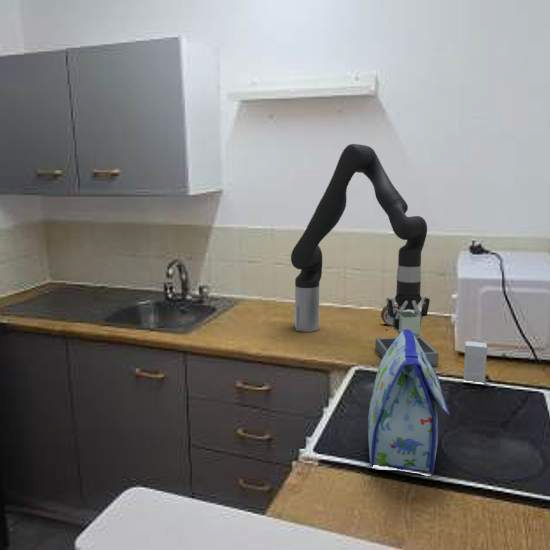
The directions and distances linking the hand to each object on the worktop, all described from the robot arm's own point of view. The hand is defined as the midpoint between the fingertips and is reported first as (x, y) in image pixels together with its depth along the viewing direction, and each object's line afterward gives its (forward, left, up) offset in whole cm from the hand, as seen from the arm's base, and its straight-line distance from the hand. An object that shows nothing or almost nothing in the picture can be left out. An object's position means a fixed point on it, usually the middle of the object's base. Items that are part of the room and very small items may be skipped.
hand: (406, 328), depth 181 cm
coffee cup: (+7, +17, -10) cm, 21 cm away
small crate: (0, 0, -1) cm, 1 cm away
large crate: (0, 0, -10) cm, 10 cm away
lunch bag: (-18, -56, -11) cm, 60 cm away
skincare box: (+14, -21, -11) cm, 27 cm away
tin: (+9, +35, -11) cm, 38 cm away
